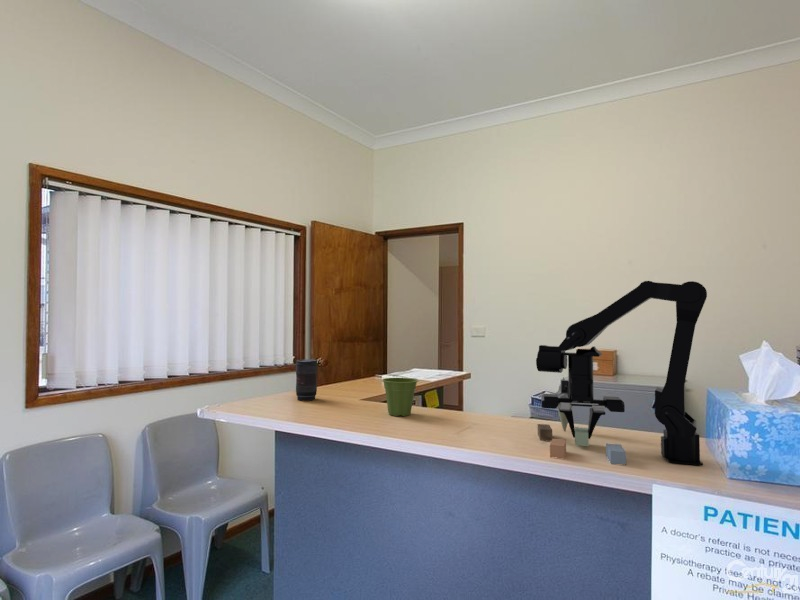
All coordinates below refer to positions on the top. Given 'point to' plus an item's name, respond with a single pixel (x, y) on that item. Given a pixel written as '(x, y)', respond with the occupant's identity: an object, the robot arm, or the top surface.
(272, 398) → the top surface
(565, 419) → the ice cream cone
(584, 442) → the green brick
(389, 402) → the plant pot
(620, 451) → the slate brick
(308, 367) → the camera lens
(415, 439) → the top surface
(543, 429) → the walnut brick
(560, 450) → the terracotta brick
